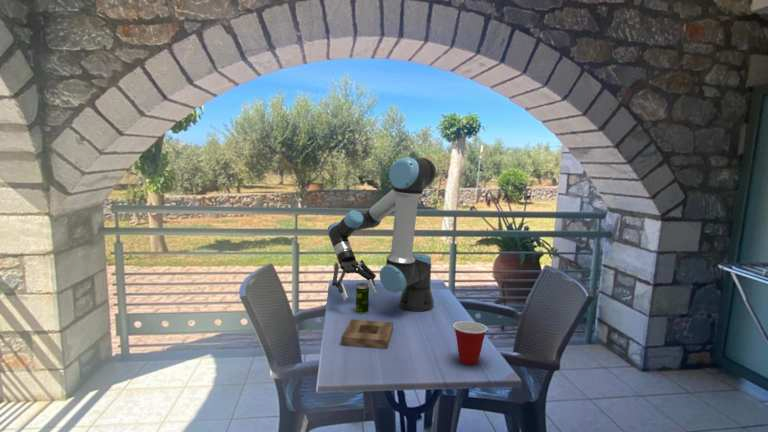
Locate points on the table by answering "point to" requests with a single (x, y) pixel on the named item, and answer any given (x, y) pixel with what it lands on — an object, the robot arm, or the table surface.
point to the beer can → (362, 298)
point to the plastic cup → (469, 340)
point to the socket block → (367, 334)
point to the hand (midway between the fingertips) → (360, 296)
